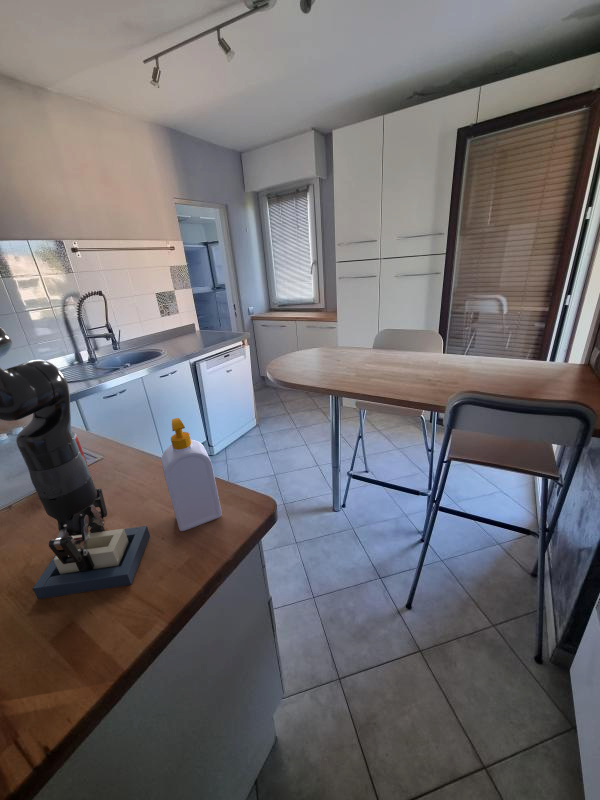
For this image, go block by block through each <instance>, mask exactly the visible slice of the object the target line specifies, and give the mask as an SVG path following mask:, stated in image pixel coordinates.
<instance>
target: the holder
mask: <svg viewBox="0 0 600 800" xmlns="http://www.w3.org/2000/svg"><path fill="white" fill-rule="evenodd" d="M123 529H124V530H125V533H126V536H127V539H128V541H129V543H128V545H127V547H126V550H125V552H124V554H123V556H122V559H121V561H120V563H119V565H118V566H112V567H105V568H98V569H92V570H90V571H83V572H82V571H81V572H80V571H78V572H71V573H64V574H60V573H59V570H58V568H57V566H56V564H55V562H54V558H55V557H56V555H55V554H54V556H53V557H52V559H51V560H50V561H49V563H48V564H47V566H46V568H45V569H44V571H43V572H42V574H41V575H40V576H39V578H38V579H37V581H36V582H35V584H34V586H33V587H32V591H33V593H34V594H35V597H36V598H37V599H38V600H40V599H41V600H43V599H48V598H55V597H61V596H67V595H73V594H81V593H86V592H87V593H88V592H93V591H100V590H106V589H112V588H118V587H119V588H120V587H125V586H131V585H132V584H133V581H134V579H135V576H136V573H137V571H138V568H139V565H140V563H141V560H142V557H143V555H144V552H145V550H146V547H147V545H148V542H149V539H150V537H151V534H150V530H149V528H148V525H142V526H135V527H128V528H123Z"/></svg>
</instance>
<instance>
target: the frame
mask: <svg viewBox="0 0 600 800" xmlns="http://www.w3.org/2000/svg"><path fill="white" fill-rule="evenodd" d="M124 529H125V528H119V529H111V530H105V531H103V532H96V533H90V532H89V540H88V541H87V549H88V552H89V553H90V556H91V559H92V561H93V563H94V568H93V569H98V568H105V567H112V566H118V565H119V563H120V561H121V559H122V556H123V554H124V552H125V550H126V547H127V545H128V543H129V541H128V539H127V536H126V533H125V530H124ZM78 537H82V535H77V536H72V538H78ZM75 547H76V548H77V550H78V549H80V545H79V544H75ZM54 562H55V564H56V566H57V568H58V570H59V573H60V574H64V573H71V572H78V571H79V569H78V567H77V565H76V563H68V564H63V563H62V562H61V561H60V560H59V558H58V557H57V556H56V557H55V558H54Z"/></svg>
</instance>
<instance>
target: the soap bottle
mask: <svg viewBox="0 0 600 800" xmlns="http://www.w3.org/2000/svg"><path fill="white" fill-rule="evenodd" d="M183 429H186V427H185V425H184V423H183V421H182V420H181V418H179V417H176V418H172V419H171V430H172V432H175V433H174V434H172V436H171V437H170V442H171V444H170V445H169V446H168V447H166V448H165V450H163V451H164V452H163V453H162V455H161V466H162V471H163V475H164V480H165V484H166V487H167V490H168V493H169V497H170V501H171V504H172V508H173V512H174V516H175V519H176V524H177V527H178V530H179V531H180V532H184V531H187V530H190V529H193V528H195V527H198V526H200V525H201V526H202V525H203V524H205V523H208V522H212V521H214V520H217V519H219V518H221V517H222V515H223V511H222V507H221V502H220V498H219V492H218V487H217V482H216V478H215V473H214V467H213V463H212V460H211V458H210V456H209V454H208V452H207V450H206V447H205V446H204V445H203V443H201V442H200V441H198V440H195V439H191V435H190V433H189V432H187V431H183Z"/></svg>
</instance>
